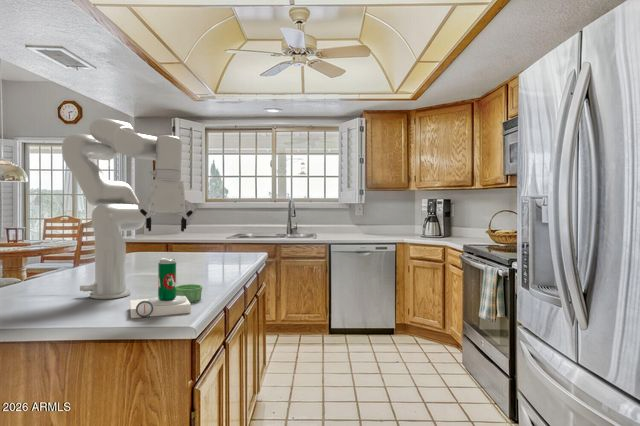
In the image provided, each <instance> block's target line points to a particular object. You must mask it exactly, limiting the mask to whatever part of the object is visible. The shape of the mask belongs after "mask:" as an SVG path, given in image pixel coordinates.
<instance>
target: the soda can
mask: <svg viewBox="0 0 640 426" xmlns="http://www.w3.org/2000/svg"><path fill="white" fill-rule="evenodd" d="M157 268H158V269H157V270H158V271H157V272H158V273H157V277H158V279H157V297H158V299H159V300H161V301H170V300H174V299H175V298H176V286H177V262H176V259H175V258H161V259H159V262H158V267H157Z"/></svg>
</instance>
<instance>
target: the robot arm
mask: <svg viewBox="0 0 640 426" xmlns="http://www.w3.org/2000/svg"><path fill="white" fill-rule="evenodd" d="M88 130H89V133H90V134H87V133H86V134H85V133H71V134H69V135H67V136H65V137H64V138H63V141H62V143H61V144H62V145H61V154H62V157H63V161H64V162H65V165H66V167H67V168H68V169H69V171H70V172H71V173H72V175H73V176H74V177H75V179H76V181H77V183H78V186H79V188H80V189H81V191H82V193H83V196H84V198H85V199H86V201H87V202H88V204H89V205H90V206H93V207H95V208H93V210H92V212H91V224H92V227H93V235H94V282H93V283H91V284H89V285H87V284H83V285H79V291H80V292H84V293H85V292H90V293H89V297H90V298H91V299H97V300H98V299H99V300H108V299H117V298H118V299H119V298H124V297H127V296H129V295H131V290H130V288H129V289H128V288H127V285H126V284H127V283H126V282H127V277H126V276H127V274H126V273H127V270H126V269H127V260H126V259H127V257H126V256H127V244H126V241H125V238H124V237H123V235H122V234H121V231H122V232H125V231H135V230H139V229H141V228H143V226H144V225H145V228H146V229H147V231H148V232H151V231H152V218H151V216H152V215H153V214H154V213H160V214H161V213H164V214H165V213H168V214H179V215H180V216H181V221H180V231H181V232H182V233H184V232H185V230H186V229H187V220H188V218H190V216H191V215H192V214H193V213H194V211H195V210H196V208H197V205H195V204H194V203H192V202H190V201H189V200H186V199H185V197H186V196H185V194H186V193H185V185H184V180H183V181H182V180H181V179H182V178H181V177H182V149H183V147H182V146H183V141H182V139H181V138H180V137H178V136H175V135H165V134H164V135H163V134H161V135H159V136H153V135H149V134H148V135H147V134H143V133H137V132H135V131H136V130H135V129H134V128H133V126H132V125H131V124H130V123H129V122H126V121H122V120H118V119H117V120H116V119H111V118H107V117H97V118H95V119H94V120H92V121H91V122H90V124H89V127H88ZM120 154H122V155H124V156H126V157H130V158H132V159H140V160H149V161H154V162H155V164H154V165H155V169H154V170H153V171H149V177H150V176H151V177H153V178H154V179H152V180H151V185H150V192H149V197H148V198H146V199H144V200H141V201H139V199H138V197H137V194H136V193H135V191H134V189H133V188H132V186H131V185H130V184H128V183H126V182H125V181H120V180H110V179H107V178H106V177H105V175H104V173H103V171H102V170H101V168H100V167H99V166H98V165H97V164H96V163H94V161H92V160H102V161H111V160H114V159H115V158H117V156H118V155H120ZM147 204H149V210H148V212H147V211H146V210H145V209H144V206H145V205H147ZM186 206H188V207H189V209H188V211H187V212H185V207H186Z"/></svg>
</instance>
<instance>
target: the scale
mask: <svg viewBox="0 0 640 426" xmlns="http://www.w3.org/2000/svg"><path fill="white" fill-rule="evenodd" d="M191 305H192V304H191V302H189V301H188V299H187V298H186V296H176V298H175V299H174V300H170V301H161V300H159V299H158V296H155V297H151V298H140V299H130V300H129V309H130V310H129V311H130V319H138V318H147V317H149V316H150V317H157V316H158V317H159V316H170V315H178V314H180V315H181V314H189V313H190V314H191V312H192V311H191V310H192V309H191V308H192V307H191Z"/></svg>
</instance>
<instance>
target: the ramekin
mask: <svg viewBox="0 0 640 426" xmlns="http://www.w3.org/2000/svg"><path fill="white" fill-rule="evenodd" d="M202 291H203V285H201V284H197V283H196V284H195V283H193V284H191V283H190V284H189V283H188V284H180V285H179V284H178V285H176V296H186V298H187V299H188V301H189V302H190V303H194V302H198V301H200V300H201V299H202Z"/></svg>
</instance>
